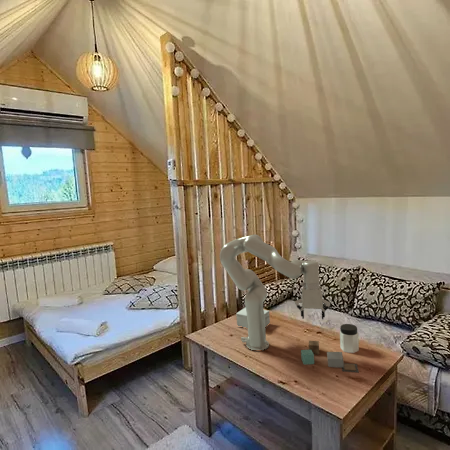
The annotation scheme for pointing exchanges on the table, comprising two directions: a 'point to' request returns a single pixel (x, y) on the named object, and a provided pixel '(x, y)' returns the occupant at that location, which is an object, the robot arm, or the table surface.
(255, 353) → the table surface
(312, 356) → the teal cube
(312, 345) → the walnut cube
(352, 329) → the jar
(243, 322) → the supplement box
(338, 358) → the grey base block
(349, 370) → the swatch
